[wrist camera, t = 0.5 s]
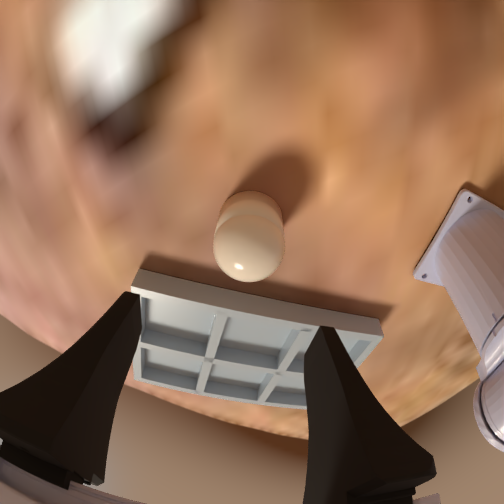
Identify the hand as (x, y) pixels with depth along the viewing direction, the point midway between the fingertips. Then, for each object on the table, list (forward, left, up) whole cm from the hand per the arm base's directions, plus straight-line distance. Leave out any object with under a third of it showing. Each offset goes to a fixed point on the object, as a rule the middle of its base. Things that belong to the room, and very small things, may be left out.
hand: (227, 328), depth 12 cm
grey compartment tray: (-4, +13, -9) cm, 17 cm away
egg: (-1, 0, -9) cm, 9 cm away
